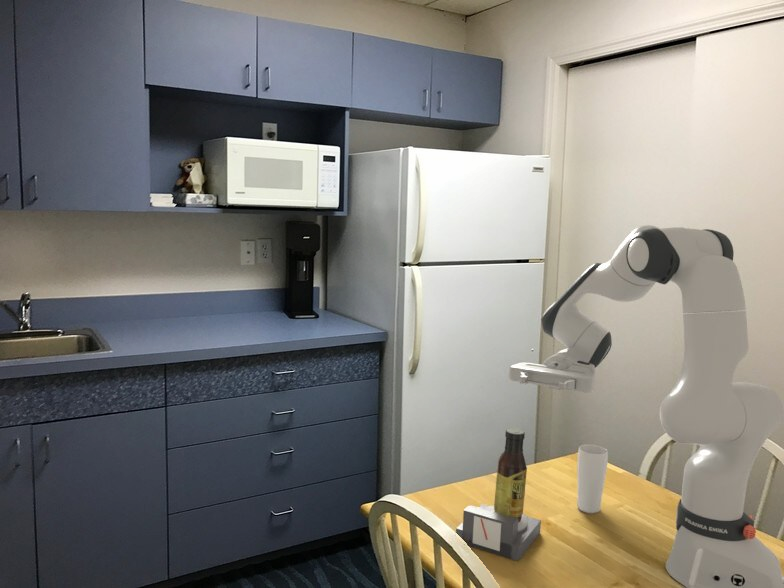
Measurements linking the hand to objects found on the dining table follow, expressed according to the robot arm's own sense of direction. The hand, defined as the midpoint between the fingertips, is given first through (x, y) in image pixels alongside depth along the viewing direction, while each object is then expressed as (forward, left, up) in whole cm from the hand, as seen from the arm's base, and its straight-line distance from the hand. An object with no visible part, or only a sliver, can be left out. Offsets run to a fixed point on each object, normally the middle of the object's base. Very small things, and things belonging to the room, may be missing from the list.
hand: (542, 383), depth 156 cm
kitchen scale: (+2, +18, -31) cm, 35 cm away
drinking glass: (-11, -7, -31) cm, 34 cm away
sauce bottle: (+1, +16, -27) cm, 31 cm away
